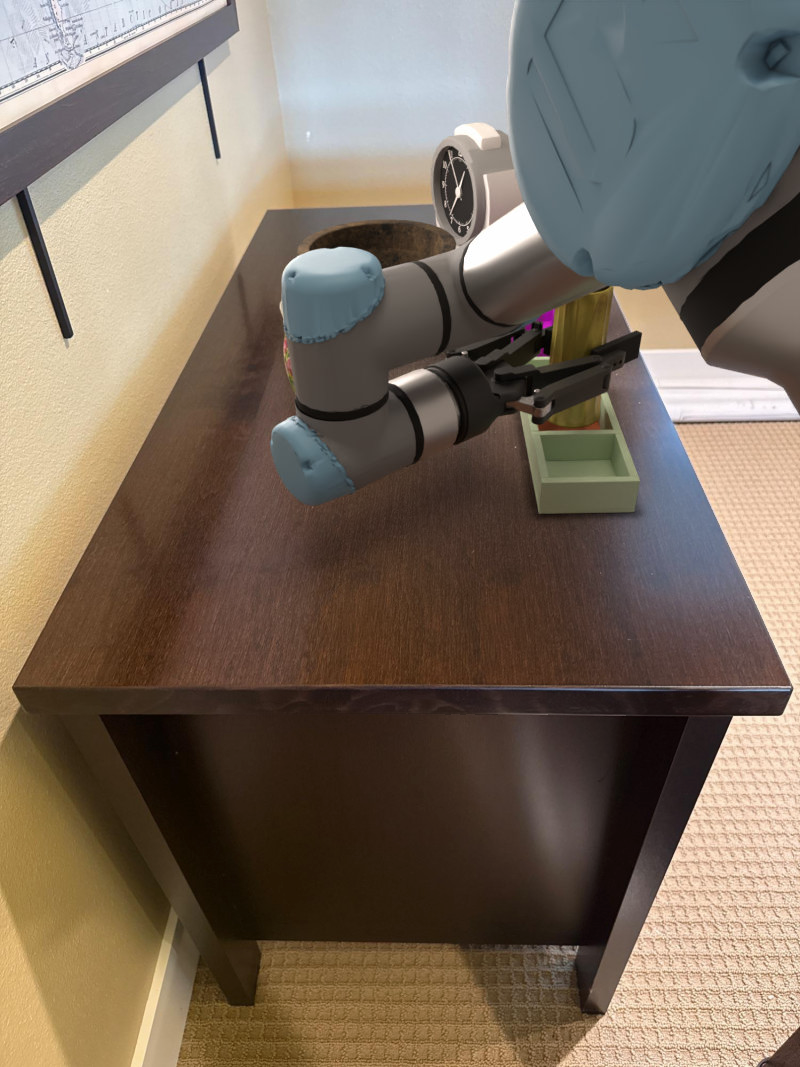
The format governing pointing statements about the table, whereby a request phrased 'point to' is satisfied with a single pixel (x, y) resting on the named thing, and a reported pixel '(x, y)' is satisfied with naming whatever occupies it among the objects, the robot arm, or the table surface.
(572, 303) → the vase
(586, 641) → the table surface
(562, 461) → the tray
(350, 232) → the bowl
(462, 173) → the alarm clock
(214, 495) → the table surface
